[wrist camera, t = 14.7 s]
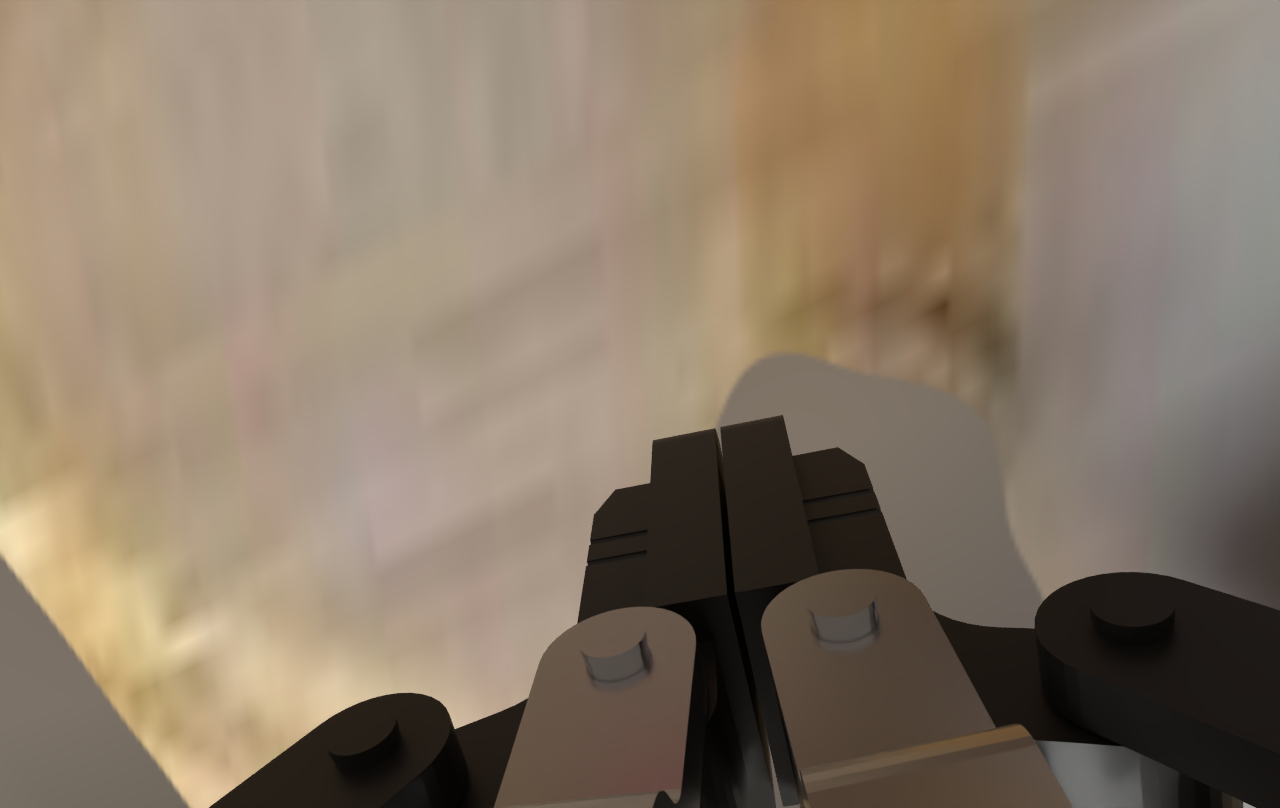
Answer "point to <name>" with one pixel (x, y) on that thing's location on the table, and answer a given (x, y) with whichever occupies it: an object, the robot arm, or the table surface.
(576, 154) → the table surface
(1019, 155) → the table surface
